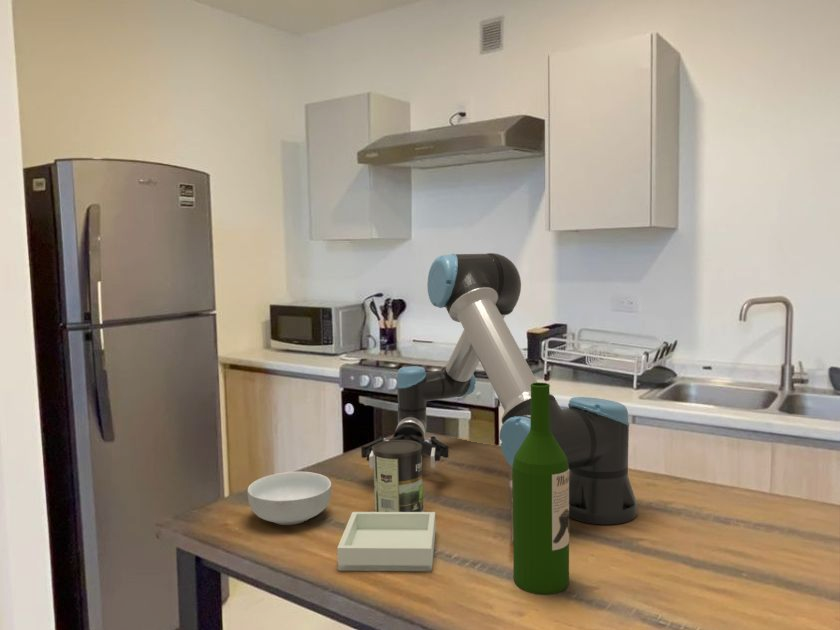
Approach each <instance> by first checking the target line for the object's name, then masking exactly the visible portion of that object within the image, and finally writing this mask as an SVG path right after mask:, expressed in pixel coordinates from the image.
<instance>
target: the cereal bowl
mask: <svg viewBox="0 0 840 630" xmlns="http://www.w3.org/2000/svg"><path fill="white" fill-rule="evenodd" d="M246 493H247V500H248V505H249V507H250V510H251V511H252V512H253V513H254V514H255V515H256V516H257V517H258V518H259V519H262V520H264V521H267V522H271V523H275V524H277V525H281V526H291V525H298V524H302V523H304V521H305V522H307V521H308V520H309V519H312V518H315V517H316V516H317V515H319V514H320V513H322V512H323V511H324V510H325V509H326V508H327V506H328V505H329V503H330V501H331V498H332V497H331V496H332V481H331V479H329V477H327V476H325V475H324V474H320V473H316V472H311V471H288V472H287V471H285V472H279V473H274V474H269V475H266V476H263V477H261V478H258V479H256V480H255V481H252V482H251V484H249V486H248V487H247V491H246Z"/></svg>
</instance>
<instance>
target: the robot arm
mask: <svg viewBox="0 0 840 630" xmlns="http://www.w3.org/2000/svg"><path fill="white" fill-rule="evenodd" d="M426 286H427V294H428V299H429V301H430V303H431V305H432V306H434V307H436V308H439V309H443V308H445V310H446V311H447V312H448V315H449V317H450V318H451V320H452V321H454V322H457V323H460V324H461V326H462V328H463V330H462V332H461V335H460V337H459V338H458V341H457V343H456V344H455V347H454V349H453V351H452V353H451V356H450V357H449V359H448V361H447V363H446V365H445V367H444V368H443V370H438V371H430V372H426V369H425V368H424V367H423V366H417V365H413V366H412V365H411V366H403V367H400V368H399V369H398V371H397V374H396V375H397V376H396V392H397V394H396V395H397V426H396V428H395V431H394V433H393V436H392V437H391V438H389V439H386V438H385V436H384V435H383V436H379V438H378V439H375V440H373V441H371V442H368V443H366V444H364V445H361V446H360V447H361V451H360V452H361V455H360V456H361V458H363V459H366V461H368V462H369V463H368V465H369V469H374V464H373V451H372V447H373V446H374V445H375V444H377V443H380V442H383V441H389V440H411V441H416V442H418V443H420V444H422V454H424V455H426V456H429V457H430V469H435V467H436V462H438V461H439V462H440V461H441V457H442V458H445V459H447V458H449V446H448V445H446V444H445V443H443V442H442V441H440V440H439V439H437V438H436V436H430V437H429V438H428V439H425V436H426V432H427V429H428V418H427V402H430V401H431V402H432V401H438V400H443V399H444V400H445V399H451V398H452V399H453V398H462V397H464V396H469V395H471V394H472V393H473V392H474V391H475V388H476V386H475V385H476V376H475V374H474V373H475V371H476V369H477V367H478V366H479V364H481V366H482V368H483V370H484V372H485V374H486V376H487V378H488V380H489V382H490V384H491V386H492V388H493V390H494V392H495V394H496V397H497V399H498V401H499V402H500V404H501V406H502V408H503V410H504V411H503V414H502V417H501V419H500V420H501V423H502V425H501V427H500V429H499V440H500V441H501V443H500V449H501V452H502V454H503V457H504V459H505V460H506V462H507V463H508V465H509V466H510V467H511V468H512V469H513V461H514V457H515V454H516V452H517V451H518V449H519V448H520V446H521V445H522V443H523V441H524V440H525V438H526V437H527V435H528V434H529V431H530V424H531V386H530V385H531V384H532V383H539V382H538V380H537V378H536V376H535V375H534V373H533V371H532V370H531V367H530V366H529V363H528V362H527V360H526V358H525V356H524V354H523V353H522V350H521V349H520V347H519V345H518V343H517V342H516V340H515V338H514V336H513V334H512V333H511V331H510V329H509V326H508V324H507V323H506V322H505V317H506V316H509V315H510V314H512V312H514V309H515V307H516V306H517V303H518V301H519V299H520V295H521V291H522V290H521V289H522V280H521V276H520V273H519V271H518V268H517V266H516V265H515V264H514V262H512V260H510V259H509V258H508V257H506V256H505V255H502V254H499V253H495V252H493V253H492V252H490V253H463V254H462V253H460V254H457V253H451V254H443V255H440V256H437V258H435V259H434V261H433V262H432V264H431V266H430V268H429V270H428V276H427V285H426ZM567 406H568V408H564V409H562V408H561V407H560V405H559V403H558V401H557V400H556V397H555V396H554V394H552V393H550V430H551V432H552V435H553V436H554V438H555V439H556V441H557V442H558V444H559V446H560V447H561V449H562V450H563V452H564V453H565V455H566V457H567V461H568V465H569V519H572V520H574V521H579V522H582V523H585V524H586V523H587V524H593V525H601V526H602V525H618V524H619V525H620V524H624V523H628V522H630V521H632V520H634V519H635V518H636V516H637V515H638V505H637V499H636V497H635V493H634V490H633V487H632V484H631V481H630V478H629V436H630V435H629V434H630V433H629V432H630V430H629V427H630V422H629V412H628V409H627V407H626V405H624V404H623V403H620V402H619V401H613V400H610V399H605V398H604V399H603V398H597V397H587V396H586V397H585V396H575V397H574V396H573V397H571V398H570V399H569V401H568V404H567Z"/></svg>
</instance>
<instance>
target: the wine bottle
mask: <svg viewBox="0 0 840 630" xmlns="http://www.w3.org/2000/svg"><path fill="white" fill-rule="evenodd" d="M530 386H531V424H530V431H529V434H528V435H527V437H526V438H525V440H524V441H523V443H522V445H521V446H520V448H519V449H518V451H517V452H516V454H515V457H514V461H513V468H512V544H513V545H512V548H513V550H512V551H513V552H512V554H513V555H512V556H513V559H512V560H513V561H512V562H513V567H512V568H513V580H514V583H515V584H516V586H518V587H519V588H520V589H521V590H523V591H526V592H529V593H533V594H537V595H553V594H558V593H560V592H563V591H564V590H565V589H567V587H568V585H569V583H570V517H569V465H568V461H567V457H566V455H565V453H564V452H563V450H562V449H561V447H560V446H559V444H558V442H557V441H556V439H555V438H554V436H553V435H552V432H551V430H550V394H551V393H550V387H551V385H550V384H549V383H547V382H538V383H532V384H531V385H530Z"/></svg>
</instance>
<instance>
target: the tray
mask: <svg viewBox="0 0 840 630" xmlns="http://www.w3.org/2000/svg"><path fill="white" fill-rule="evenodd" d="M351 512H352V513H351V514H350V517H349V519H348V521H347V524H346V526H345V528H344V531H343V534H342V536H341V538H340V541H339V543H338V546H337V548H336V550H337V571H340V572H341V571H342V572H344V571H345V572H347V571H349V572H350V571H351V572H352V571H353V572H354V571H355V572H356V571H358V572H359V571H361V572H362V571H363V572H365V571H366V572H368V571H369V572H432V571H433V562H434V553H435V544H436V543H435V542H436V511H424V512H375V511H351Z"/></svg>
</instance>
